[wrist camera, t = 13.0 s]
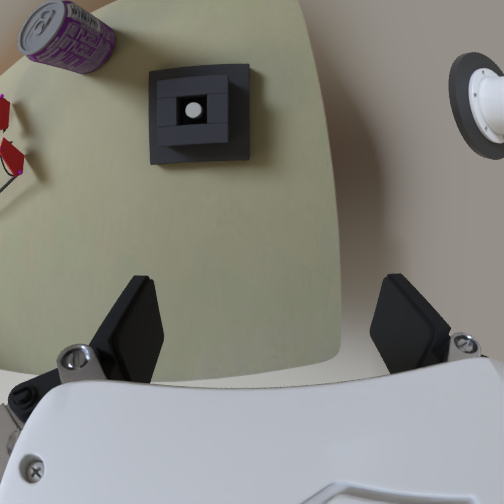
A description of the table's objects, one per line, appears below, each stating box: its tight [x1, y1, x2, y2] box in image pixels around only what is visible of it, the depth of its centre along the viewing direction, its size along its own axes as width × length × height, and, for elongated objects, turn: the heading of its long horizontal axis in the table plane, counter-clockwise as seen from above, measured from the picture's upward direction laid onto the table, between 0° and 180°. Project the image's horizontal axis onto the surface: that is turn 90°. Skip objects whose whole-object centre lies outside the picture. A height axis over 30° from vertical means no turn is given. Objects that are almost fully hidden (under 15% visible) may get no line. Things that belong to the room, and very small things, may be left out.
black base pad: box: [149, 64, 249, 165], centre depth 26 cm, size 11×11×4 cm
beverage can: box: [18, 0, 115, 74], centre depth 18 cm, size 7×7×12 cm
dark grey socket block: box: [157, 75, 230, 147], centre depth 25 cm, size 7×7×3 cm
